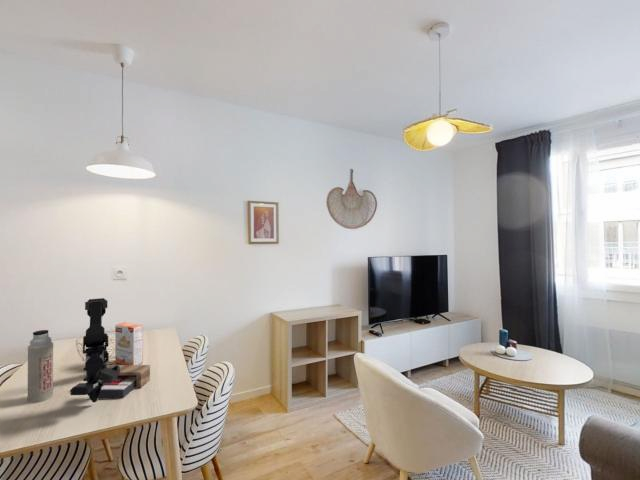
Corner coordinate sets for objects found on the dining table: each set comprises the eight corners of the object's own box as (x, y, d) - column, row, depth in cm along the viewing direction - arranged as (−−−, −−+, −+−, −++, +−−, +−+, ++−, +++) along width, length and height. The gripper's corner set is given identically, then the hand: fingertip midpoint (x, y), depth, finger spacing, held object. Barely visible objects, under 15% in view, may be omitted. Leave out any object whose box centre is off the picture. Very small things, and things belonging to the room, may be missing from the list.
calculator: (142, 374, 147) (123, 388, 132) (142, 384, 147) (123, 398, 132) (118, 374, 147) (96, 388, 132) (118, 384, 146) (96, 398, 131)
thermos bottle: (56, 396, 133) (56, 330, 132) (31, 404, 126) (31, 335, 126) (48, 391, 137) (49, 327, 137) (24, 399, 130) (24, 332, 130)
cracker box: (114, 363, 168) (114, 324, 168) (125, 359, 173) (125, 321, 173) (132, 367, 162) (133, 327, 162) (143, 363, 168) (143, 324, 168)
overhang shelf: (90, 388, 140) (90, 372, 140) (102, 380, 148) (102, 365, 148) (140, 388, 141) (140, 372, 141) (149, 380, 149) (150, 365, 149)
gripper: (100, 372, 117) (99, 414, 117) (128, 354, 136) (128, 390, 136) (69, 373, 117) (69, 415, 117) (102, 354, 135) (102, 390, 135)
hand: (94, 401), depth 126 cm, fingers closed
